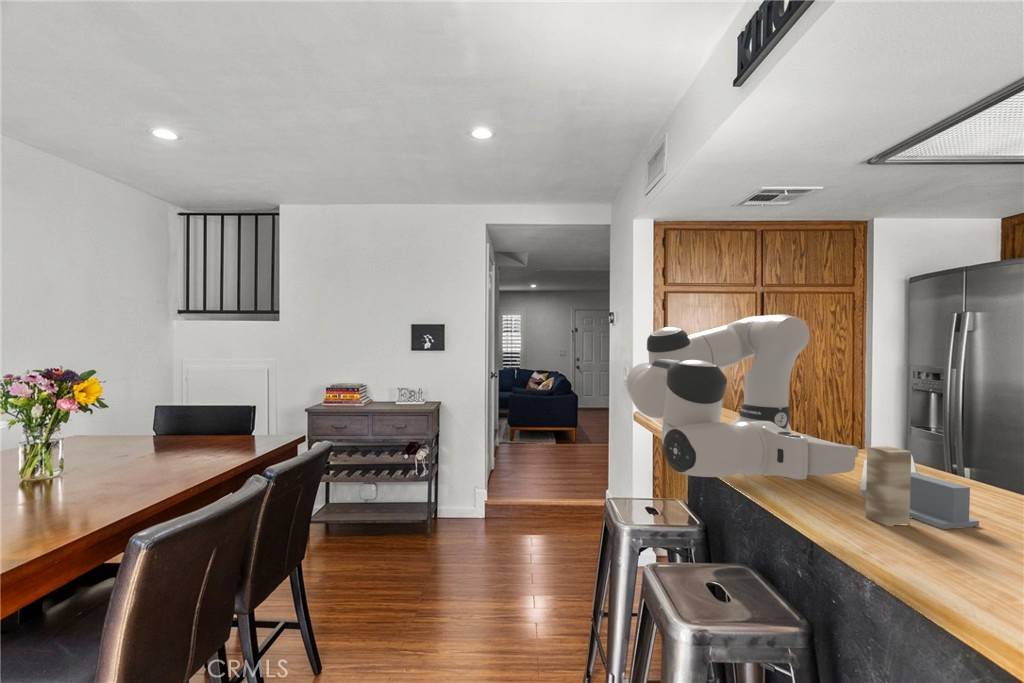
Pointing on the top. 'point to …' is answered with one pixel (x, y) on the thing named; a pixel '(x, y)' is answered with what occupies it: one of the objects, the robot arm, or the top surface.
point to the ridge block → (940, 502)
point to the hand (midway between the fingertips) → (831, 445)
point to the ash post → (888, 485)
